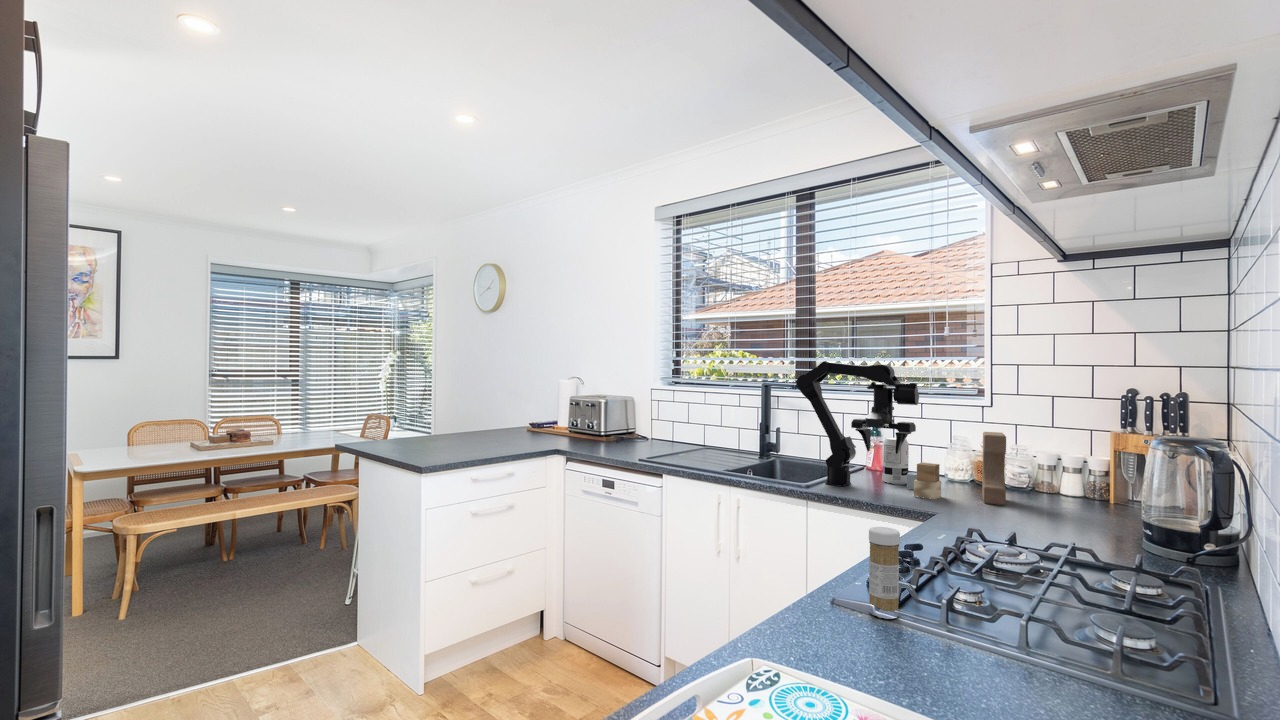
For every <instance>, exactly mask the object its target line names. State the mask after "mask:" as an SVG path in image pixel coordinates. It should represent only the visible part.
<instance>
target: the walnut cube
mask: <svg viewBox="0 0 1280 720" xmlns="http://www.w3.org/2000/svg"><path fill="white" fill-rule="evenodd" d="M916 473H917V481H924V482H932V483H935V482H937V481H940V463H931V462H923V461H921V462H919V463H917V464H916Z"/></svg>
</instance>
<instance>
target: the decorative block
mask: <svg viewBox="0 0 1280 720" xmlns="http://www.w3.org/2000/svg"><path fill="white" fill-rule="evenodd" d="M1006 453H1007V436H1006V435H1005V434H1004V433H1003V432H996V431H995V432H993V431H983V432H982V480H981V481H982V485H981V487H982V491H981V492H982V493H981V495H982V501H983V503H984V504H986V505H994V504H996V505H997V506H1003V505H1004V506H1006V504H1007V501H1006V499H1007V498H1006V493H1007V492H1006V491H1007V489H1006V480H1005V479H1006V478H1005V477H1006V476H1005V472H1006V471H1005V468H1006V467H1005V461H1006V460H1005V459H1006Z"/></svg>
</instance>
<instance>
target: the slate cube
mask: <svg viewBox="0 0 1280 720" xmlns="http://www.w3.org/2000/svg"><path fill="white" fill-rule="evenodd" d="M914 480H917V472H914V471H908V473H907V483H906V490H908V489H914Z"/></svg>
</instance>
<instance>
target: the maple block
mask: <svg viewBox="0 0 1280 720" xmlns="http://www.w3.org/2000/svg"><path fill="white" fill-rule="evenodd" d="M914 496H918V497H917V498H920V497H924V498H923V499H926V498H931V499H930V500H933V499H935V500H937V499H939V498H941V497H942V480H939V481H937V482H935V483H932V482H924V481H917V480H914V490H913V497H914ZM938 497H939V498H938ZM936 498H937V499H936Z"/></svg>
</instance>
